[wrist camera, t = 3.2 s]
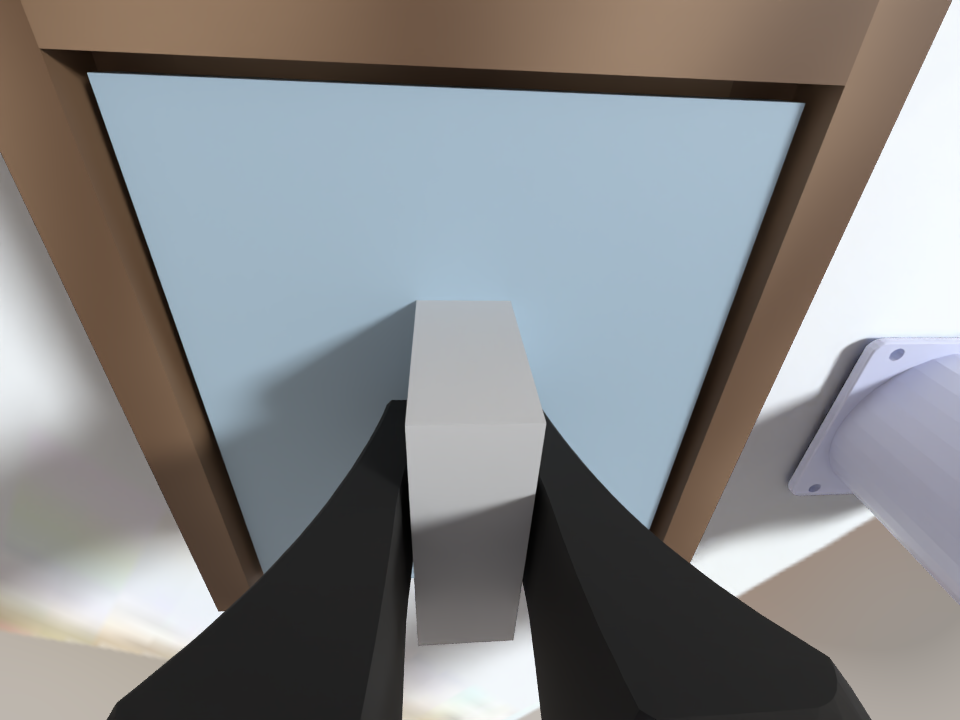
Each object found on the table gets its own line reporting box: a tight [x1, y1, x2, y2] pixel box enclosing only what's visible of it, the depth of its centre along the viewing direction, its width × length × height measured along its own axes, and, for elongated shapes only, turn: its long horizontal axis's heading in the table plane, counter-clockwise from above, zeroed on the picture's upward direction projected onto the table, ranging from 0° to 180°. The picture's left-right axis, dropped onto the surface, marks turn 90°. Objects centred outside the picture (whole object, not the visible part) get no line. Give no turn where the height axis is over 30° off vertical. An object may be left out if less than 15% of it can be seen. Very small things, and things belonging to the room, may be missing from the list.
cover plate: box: [87, 71, 805, 645], centre depth 10 cm, size 12×14×5 cm
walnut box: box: [0, 0, 952, 611], centre depth 13 cm, size 15×16×5 cm
